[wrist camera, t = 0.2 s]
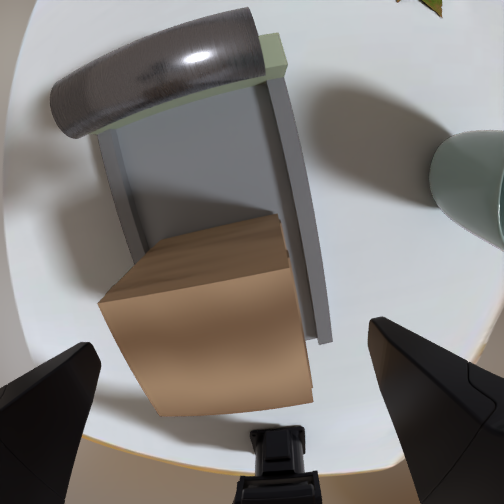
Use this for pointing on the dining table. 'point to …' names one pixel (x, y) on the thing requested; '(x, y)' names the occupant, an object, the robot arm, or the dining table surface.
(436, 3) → the lily flower
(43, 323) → the dining table surface
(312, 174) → the dining table surface
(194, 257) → the brown wooden block
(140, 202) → the bay
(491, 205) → the cup
